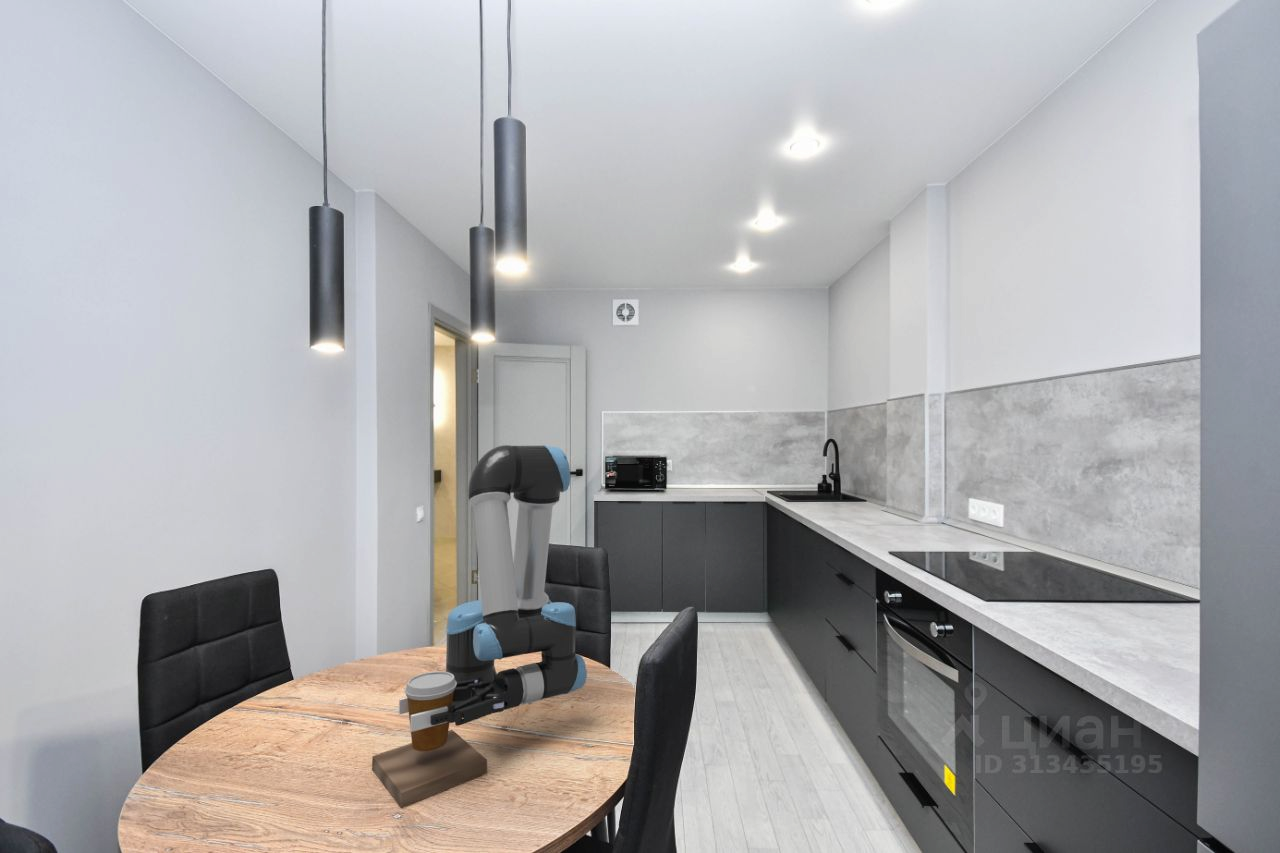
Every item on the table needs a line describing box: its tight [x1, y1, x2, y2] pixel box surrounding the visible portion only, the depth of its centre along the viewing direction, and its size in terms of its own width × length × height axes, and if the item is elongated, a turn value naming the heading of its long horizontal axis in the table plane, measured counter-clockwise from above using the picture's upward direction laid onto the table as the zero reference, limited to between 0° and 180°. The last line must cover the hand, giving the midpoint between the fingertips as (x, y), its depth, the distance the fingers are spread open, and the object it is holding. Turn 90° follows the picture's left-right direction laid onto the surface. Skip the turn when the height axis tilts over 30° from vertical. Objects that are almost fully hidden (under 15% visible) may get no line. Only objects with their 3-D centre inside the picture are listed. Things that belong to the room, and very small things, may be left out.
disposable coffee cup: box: [404, 671, 457, 751], centre depth 108 cm, size 10×10×12 cm
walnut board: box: [371, 729, 488, 808], centre depth 107 cm, size 16×16×2 cm
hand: (405, 714), depth 105 cm, fingers closed on disposable coffee cup, 8 cm apart
